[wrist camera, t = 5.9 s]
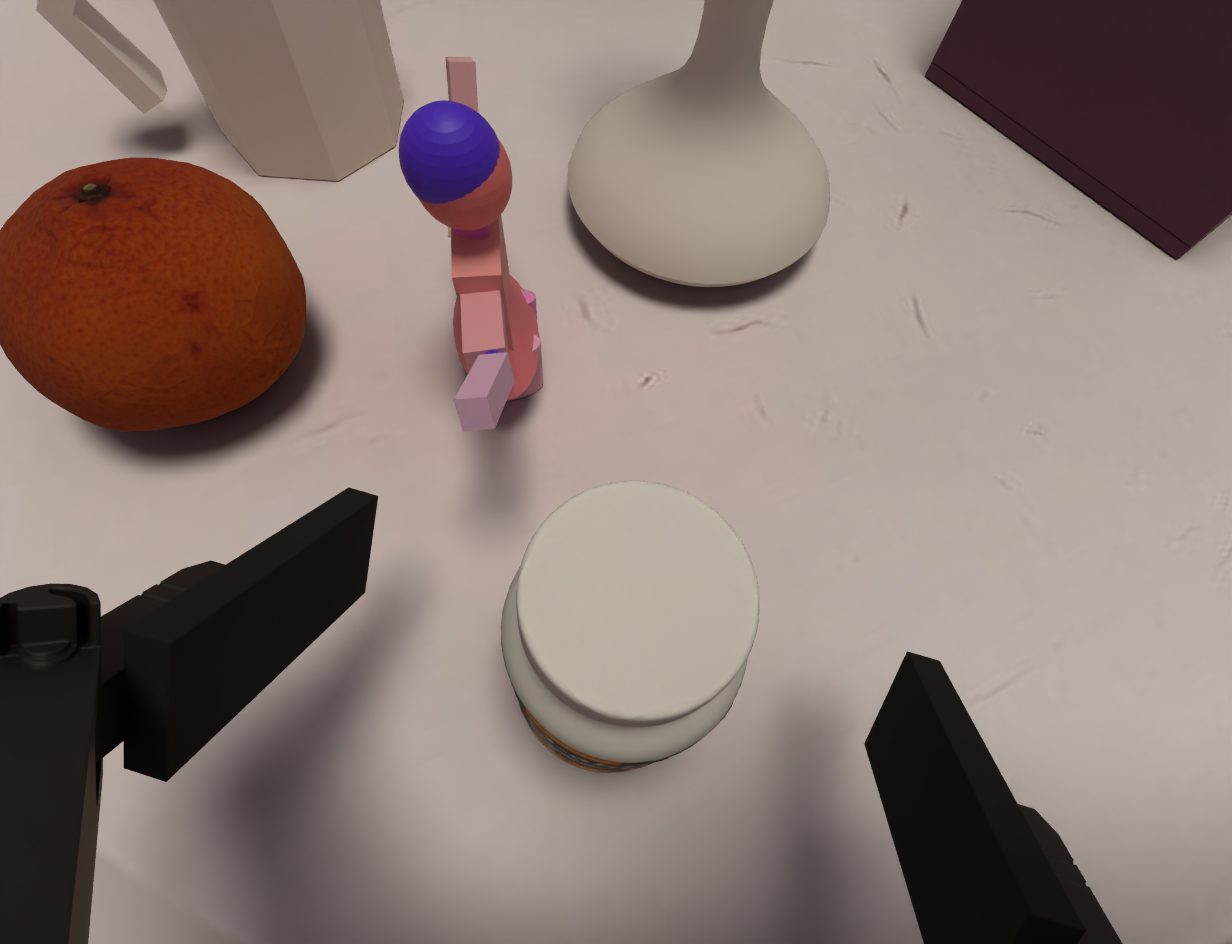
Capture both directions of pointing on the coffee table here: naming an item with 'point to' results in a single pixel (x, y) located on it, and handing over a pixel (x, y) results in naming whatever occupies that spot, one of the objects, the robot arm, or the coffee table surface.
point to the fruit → (147, 294)
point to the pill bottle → (629, 625)
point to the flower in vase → (703, 165)
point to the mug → (265, 75)
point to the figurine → (475, 246)
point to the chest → (1108, 100)
